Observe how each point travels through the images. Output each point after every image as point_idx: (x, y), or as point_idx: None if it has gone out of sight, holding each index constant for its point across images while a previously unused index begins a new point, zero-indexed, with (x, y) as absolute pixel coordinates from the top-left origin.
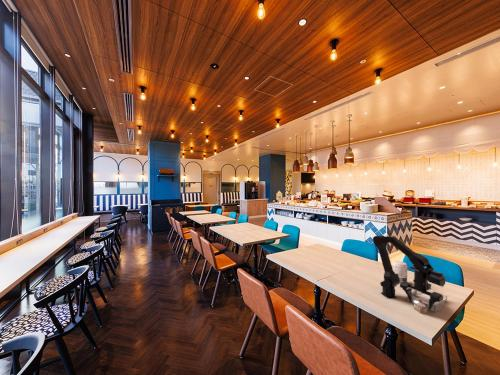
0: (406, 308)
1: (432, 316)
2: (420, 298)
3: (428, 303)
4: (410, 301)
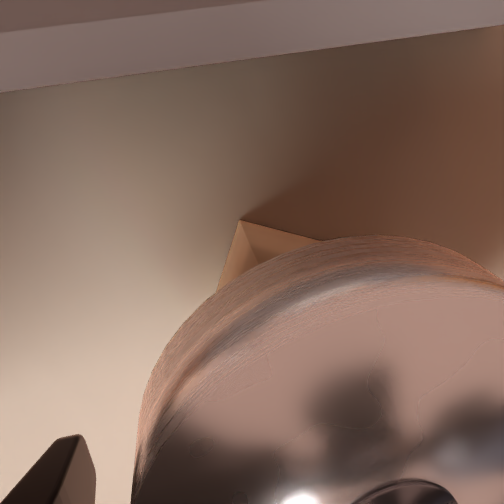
0: (121, 471)
1: (494, 268)
2: (298, 361)
3: (433, 33)
4: (86, 477)
